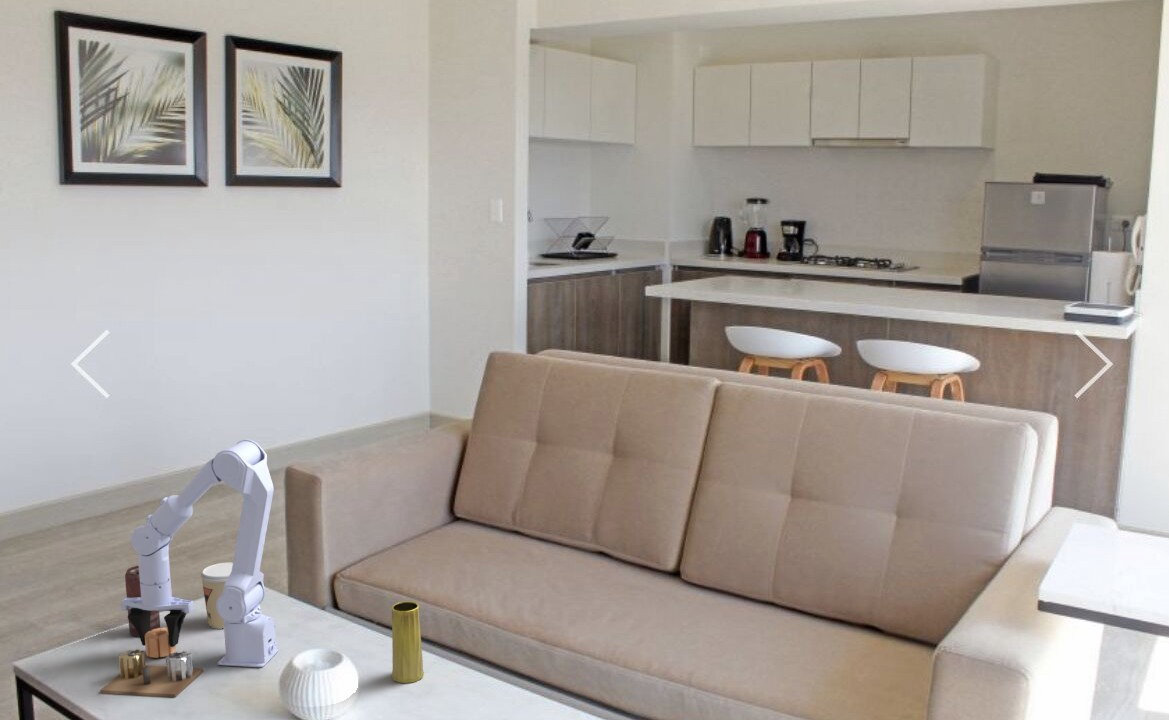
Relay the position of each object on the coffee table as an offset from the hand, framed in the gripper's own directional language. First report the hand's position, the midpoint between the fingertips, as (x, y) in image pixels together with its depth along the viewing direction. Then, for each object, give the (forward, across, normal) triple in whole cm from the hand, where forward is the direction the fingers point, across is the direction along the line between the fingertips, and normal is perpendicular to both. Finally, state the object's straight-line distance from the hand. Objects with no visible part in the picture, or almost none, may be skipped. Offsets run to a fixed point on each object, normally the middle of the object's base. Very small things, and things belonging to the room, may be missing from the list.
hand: (160, 644), depth 219 cm
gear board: (+2, -5, +12) cm, 13 cm away
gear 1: (+2, 0, +10) cm, 11 cm away
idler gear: (+2, 0, 0) cm, 2 cm away
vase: (+2, -53, +4) cm, 53 cm away
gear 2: (+2, -10, +10) cm, 14 cm away
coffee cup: (+2, -6, -17) cm, 18 cm away
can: (+2, +9, -10) cm, 14 cm away
